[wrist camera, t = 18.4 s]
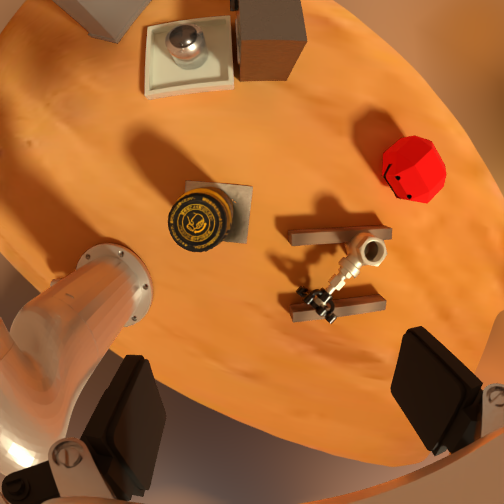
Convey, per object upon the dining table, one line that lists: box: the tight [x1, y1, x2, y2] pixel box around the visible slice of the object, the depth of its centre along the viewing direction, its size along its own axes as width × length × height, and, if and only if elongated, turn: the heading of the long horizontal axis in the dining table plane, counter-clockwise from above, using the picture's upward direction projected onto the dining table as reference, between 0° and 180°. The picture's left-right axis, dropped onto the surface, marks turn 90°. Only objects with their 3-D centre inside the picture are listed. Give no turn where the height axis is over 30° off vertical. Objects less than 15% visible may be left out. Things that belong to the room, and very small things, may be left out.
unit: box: [230, 0, 307, 82], centre depth 25 cm, size 7×10×12 cm
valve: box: [296, 232, 387, 324], centre depth 35 cm, size 7×7×12 cm
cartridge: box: [165, 23, 209, 70], centre depth 27 cm, size 4×4×6 cm
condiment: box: [168, 181, 253, 252], centre depth 30 cm, size 7×8×12 cm
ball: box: [382, 136, 446, 203], centre depth 32 cm, size 8×8×8 cm
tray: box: [145, 15, 234, 100], centre depth 29 cm, size 11×11×2 cm
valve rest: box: [288, 225, 392, 322], centre depth 37 cm, size 14×12×2 cm
